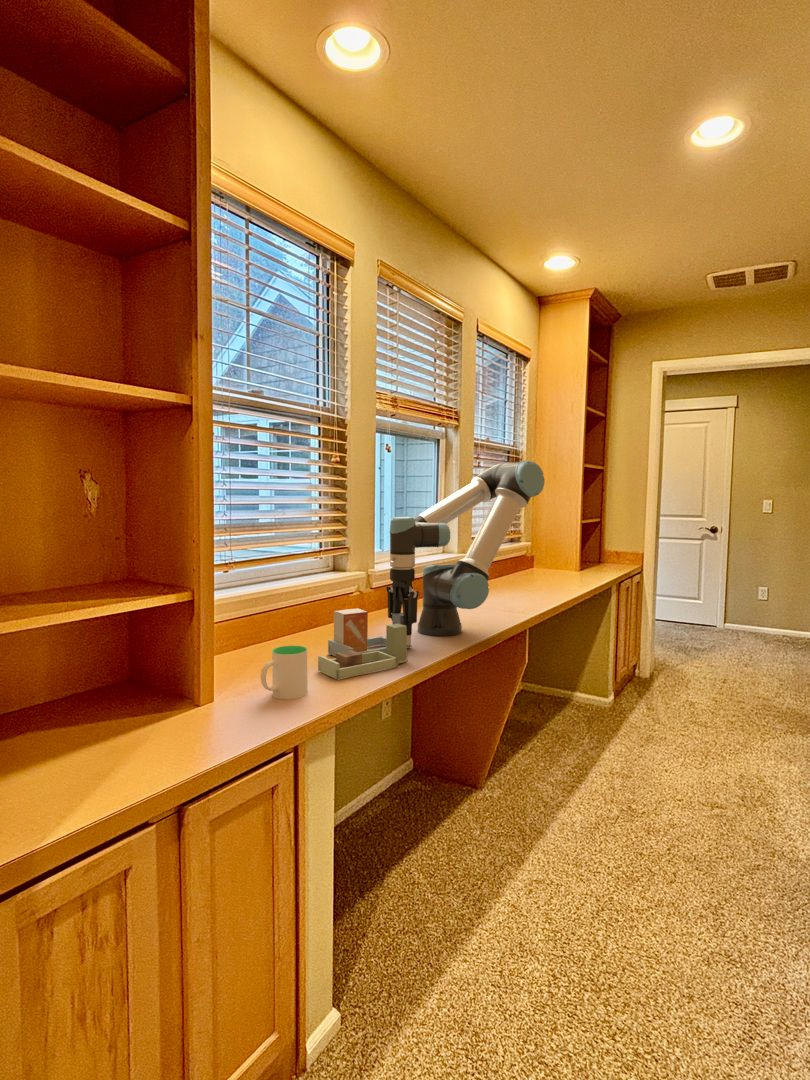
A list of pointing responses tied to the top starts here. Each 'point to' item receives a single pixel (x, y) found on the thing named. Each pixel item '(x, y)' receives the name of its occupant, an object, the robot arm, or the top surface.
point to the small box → (351, 628)
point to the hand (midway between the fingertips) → (401, 643)
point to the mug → (287, 672)
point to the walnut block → (348, 658)
